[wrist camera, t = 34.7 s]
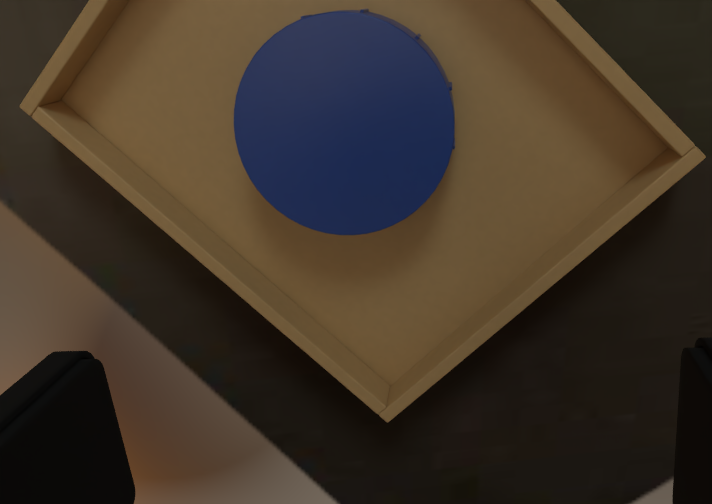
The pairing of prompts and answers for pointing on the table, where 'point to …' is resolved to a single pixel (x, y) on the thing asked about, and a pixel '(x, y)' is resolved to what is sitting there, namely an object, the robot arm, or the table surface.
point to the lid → (345, 122)
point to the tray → (408, 237)
